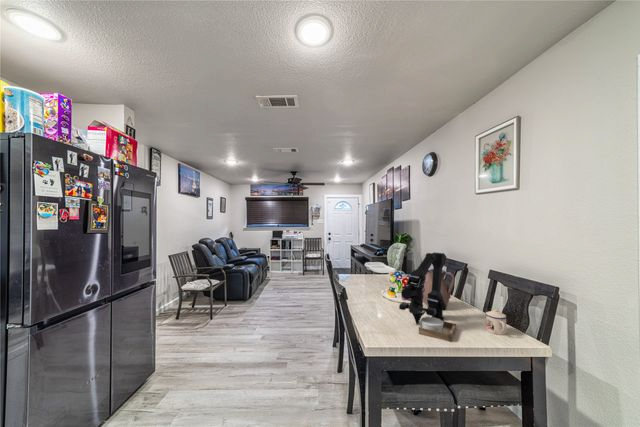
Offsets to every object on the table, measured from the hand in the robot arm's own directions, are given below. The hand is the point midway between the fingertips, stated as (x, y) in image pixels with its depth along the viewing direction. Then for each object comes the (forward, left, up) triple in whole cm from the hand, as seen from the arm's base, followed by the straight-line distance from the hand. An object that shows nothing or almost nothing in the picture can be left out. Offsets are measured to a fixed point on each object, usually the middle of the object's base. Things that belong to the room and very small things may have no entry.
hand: (417, 324), depth 141 cm
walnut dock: (0, +10, -2) cm, 10 cm away
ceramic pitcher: (-42, +2, -2) cm, 42 cm away
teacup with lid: (-17, +36, -2) cm, 40 cm away
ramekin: (0, +8, -2) cm, 8 cm away
